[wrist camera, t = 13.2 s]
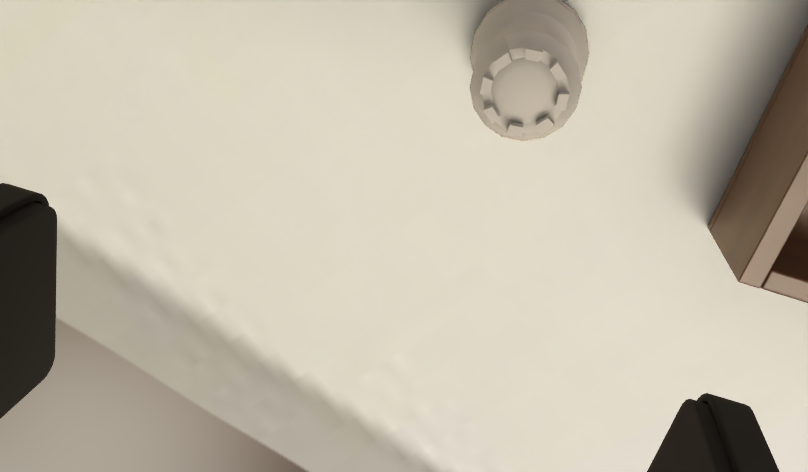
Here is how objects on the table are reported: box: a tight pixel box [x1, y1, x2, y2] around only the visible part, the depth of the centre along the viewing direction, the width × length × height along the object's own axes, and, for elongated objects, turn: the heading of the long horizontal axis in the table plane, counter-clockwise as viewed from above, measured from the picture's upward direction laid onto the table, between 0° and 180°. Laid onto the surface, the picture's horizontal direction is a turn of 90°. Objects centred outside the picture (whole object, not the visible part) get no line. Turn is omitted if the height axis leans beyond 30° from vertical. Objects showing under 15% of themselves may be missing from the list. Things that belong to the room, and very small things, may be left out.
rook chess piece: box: [470, 0, 589, 141], centre depth 23 cm, size 4×4×8 cm
